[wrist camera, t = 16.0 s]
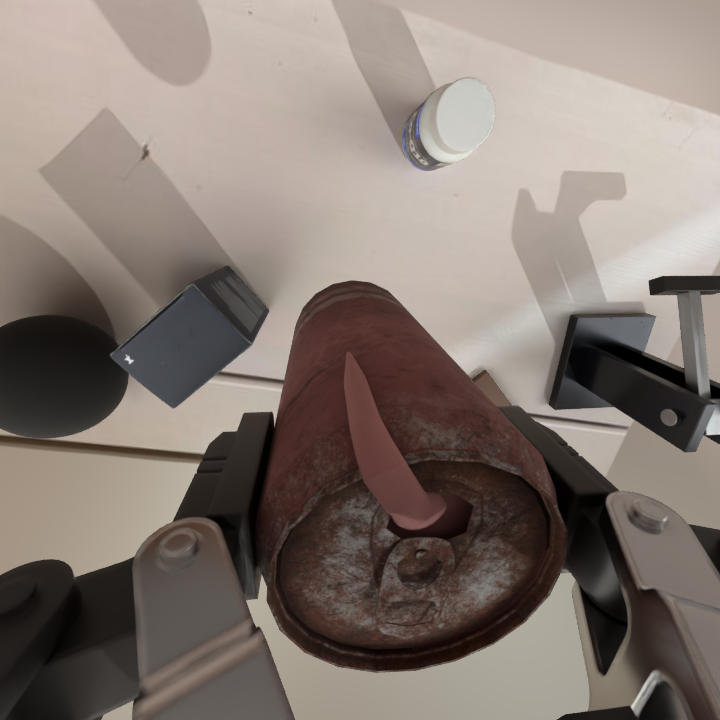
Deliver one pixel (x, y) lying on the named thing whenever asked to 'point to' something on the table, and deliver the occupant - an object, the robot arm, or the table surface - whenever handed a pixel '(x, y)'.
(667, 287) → the lever
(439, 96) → the pill bottle
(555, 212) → the table surface
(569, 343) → the bracket
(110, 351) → the decorative ball
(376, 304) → the can
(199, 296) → the box
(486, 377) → the coaster
